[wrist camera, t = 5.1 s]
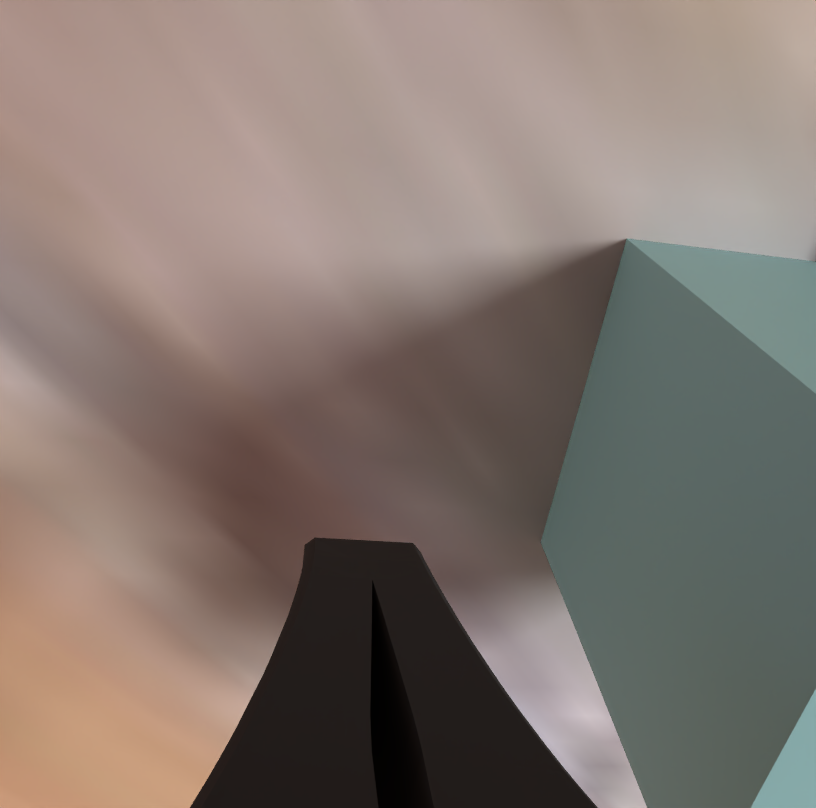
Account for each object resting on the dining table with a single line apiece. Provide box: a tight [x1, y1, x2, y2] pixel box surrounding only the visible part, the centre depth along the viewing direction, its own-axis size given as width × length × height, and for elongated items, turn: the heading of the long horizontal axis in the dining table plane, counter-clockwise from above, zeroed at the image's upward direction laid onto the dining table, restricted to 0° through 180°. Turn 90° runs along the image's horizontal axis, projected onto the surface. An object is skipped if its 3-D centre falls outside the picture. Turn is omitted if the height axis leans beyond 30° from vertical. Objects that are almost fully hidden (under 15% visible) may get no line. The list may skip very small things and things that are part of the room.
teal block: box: [541, 239, 816, 808], centre depth 13 cm, size 4×7×8 cm, turn 172°
